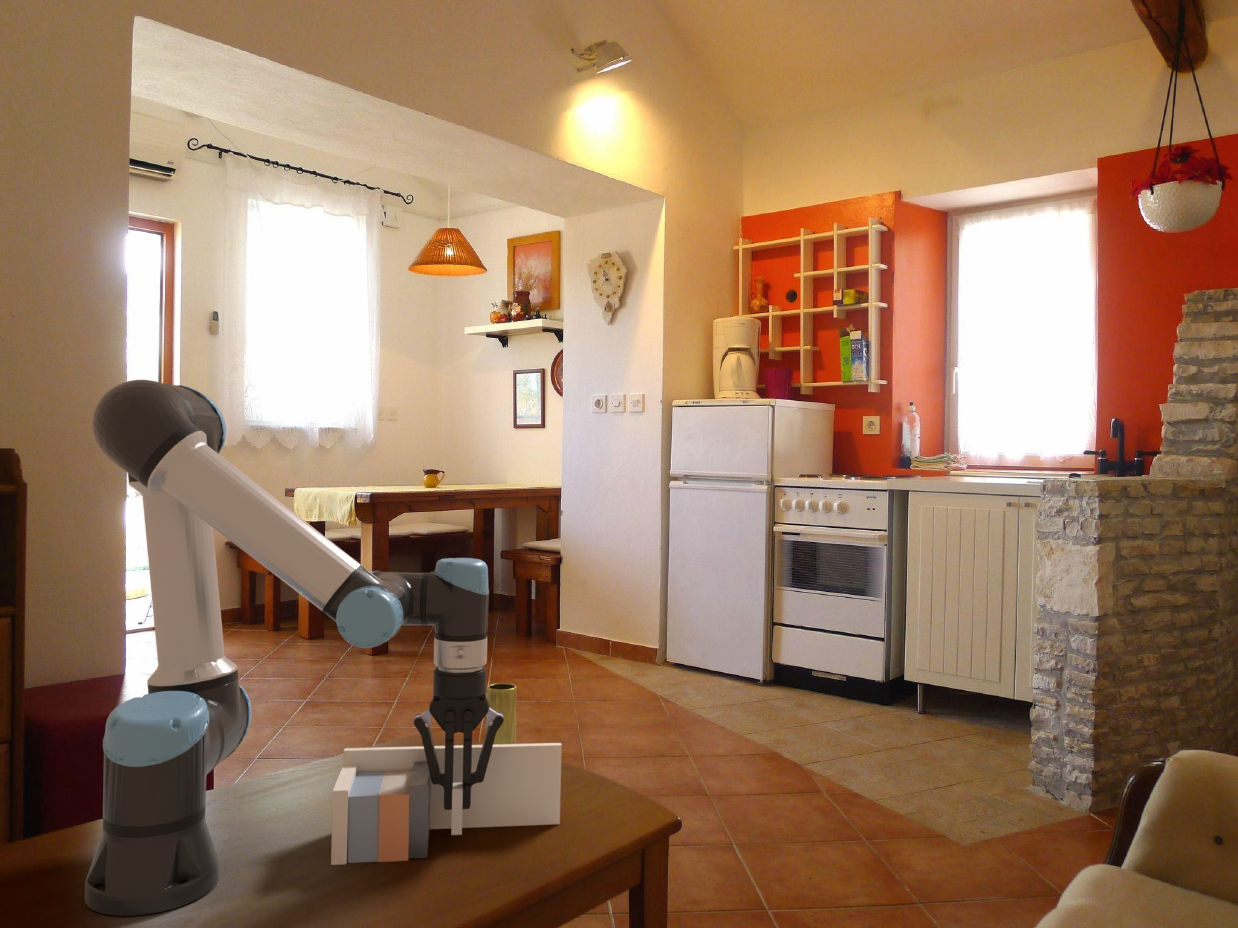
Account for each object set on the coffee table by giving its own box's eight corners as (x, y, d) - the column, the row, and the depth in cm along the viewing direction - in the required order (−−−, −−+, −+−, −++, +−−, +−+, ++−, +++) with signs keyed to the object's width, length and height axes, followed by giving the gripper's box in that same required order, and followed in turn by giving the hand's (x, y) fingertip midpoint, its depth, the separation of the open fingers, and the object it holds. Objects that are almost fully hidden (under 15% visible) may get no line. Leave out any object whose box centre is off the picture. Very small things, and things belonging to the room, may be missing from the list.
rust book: (377, 861, 126) (378, 795, 126) (384, 832, 136) (385, 771, 136) (408, 860, 127) (409, 794, 127) (412, 831, 137) (413, 770, 137)
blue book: (347, 862, 126) (348, 796, 126) (356, 833, 136) (357, 771, 136) (378, 861, 127) (379, 795, 127) (384, 831, 136) (385, 770, 136)
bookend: (408, 858, 127) (410, 785, 127) (412, 829, 137) (414, 761, 137) (426, 857, 128) (428, 784, 128) (429, 828, 137) (431, 761, 137)
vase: (478, 769, 165) (480, 689, 165) (488, 758, 171) (490, 681, 171) (511, 771, 164) (513, 691, 164) (521, 761, 170) (522, 683, 170)
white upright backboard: (331, 864, 125) (333, 775, 125) (342, 829, 137) (344, 748, 137) (567, 854, 130) (569, 768, 130) (558, 820, 142) (560, 742, 142)
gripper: (412, 673, 128) (408, 843, 128) (507, 672, 130) (503, 839, 131) (415, 661, 136) (411, 822, 136) (504, 660, 138) (501, 819, 138)
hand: (456, 830), depth 133 cm, fingers closed
